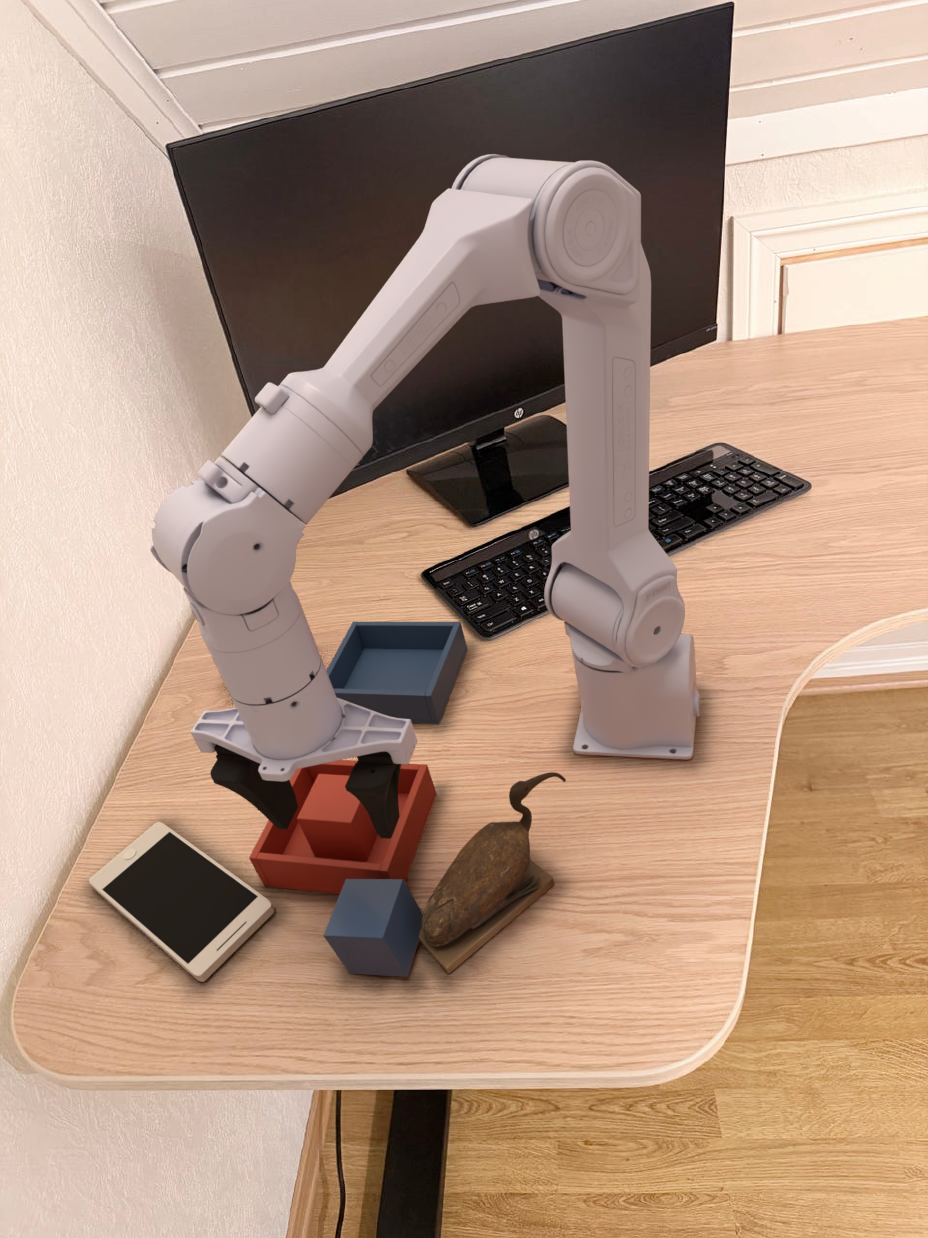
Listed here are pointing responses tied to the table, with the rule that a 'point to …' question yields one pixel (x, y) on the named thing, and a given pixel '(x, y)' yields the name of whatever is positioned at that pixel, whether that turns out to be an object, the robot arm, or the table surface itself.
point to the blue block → (375, 927)
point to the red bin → (295, 866)
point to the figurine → (485, 885)
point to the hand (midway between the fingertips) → (338, 822)
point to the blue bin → (399, 667)
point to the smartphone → (182, 899)
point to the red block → (336, 820)
